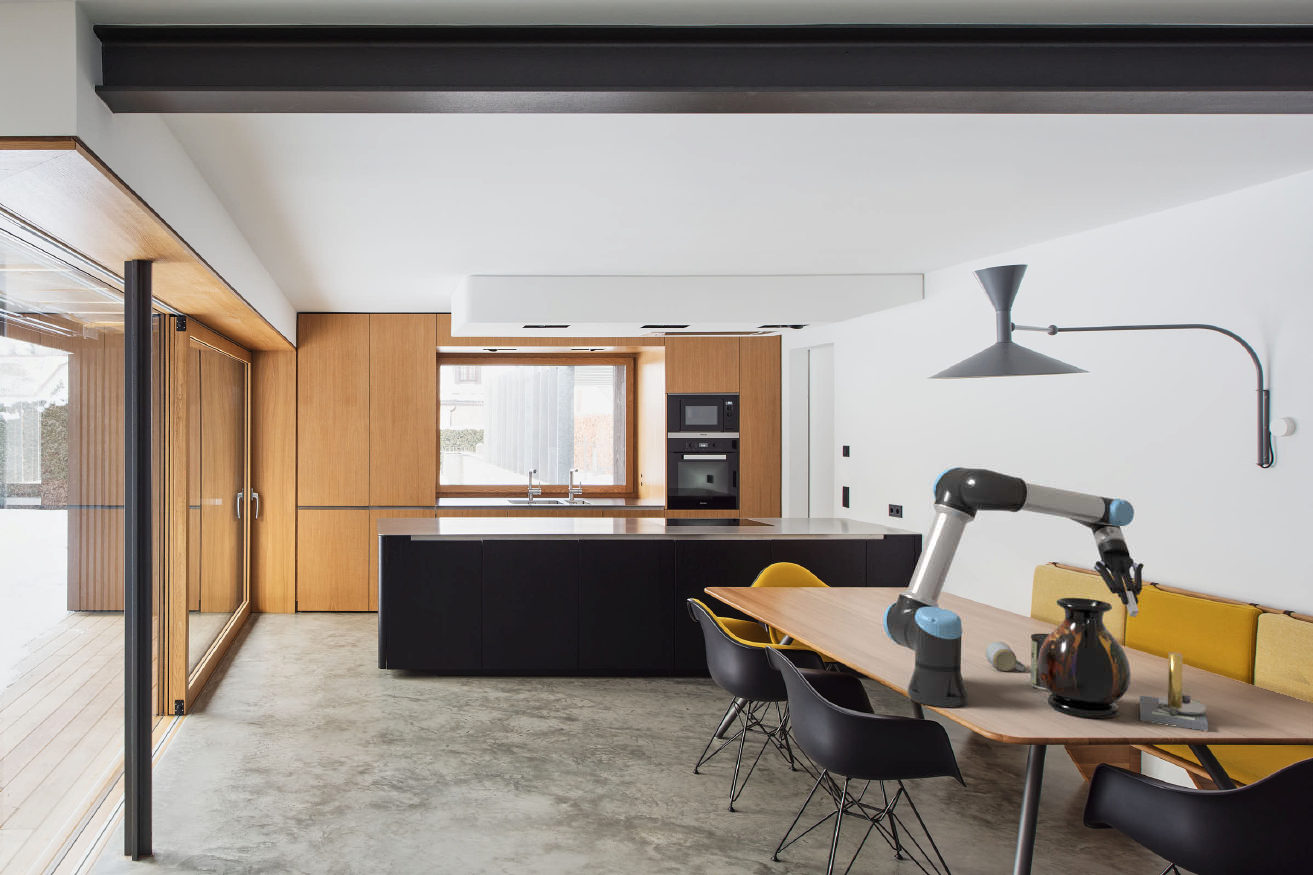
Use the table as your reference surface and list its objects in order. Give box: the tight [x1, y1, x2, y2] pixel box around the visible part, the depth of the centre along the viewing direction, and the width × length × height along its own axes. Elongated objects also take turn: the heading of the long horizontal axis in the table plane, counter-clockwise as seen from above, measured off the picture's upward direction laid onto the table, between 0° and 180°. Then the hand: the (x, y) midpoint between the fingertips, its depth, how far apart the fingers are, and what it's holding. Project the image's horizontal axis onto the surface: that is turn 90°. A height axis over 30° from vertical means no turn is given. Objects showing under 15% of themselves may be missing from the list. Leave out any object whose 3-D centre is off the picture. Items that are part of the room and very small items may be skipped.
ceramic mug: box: [985, 641, 1026, 672], centre depth 254 cm, size 11×8×8 cm
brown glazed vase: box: [1038, 597, 1132, 719], centre depth 215 cm, size 22×22×28 cm
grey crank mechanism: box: [1139, 694, 1209, 732], centre depth 211 cm, size 18×14×4 cm
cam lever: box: [1158, 651, 1206, 715], centre depth 209 cm, size 10×11×15 cm
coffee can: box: [1030, 633, 1051, 692], centre depth 235 cm, size 10×10×14 cm
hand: (1134, 613), depth 226 cm, fingers closed
